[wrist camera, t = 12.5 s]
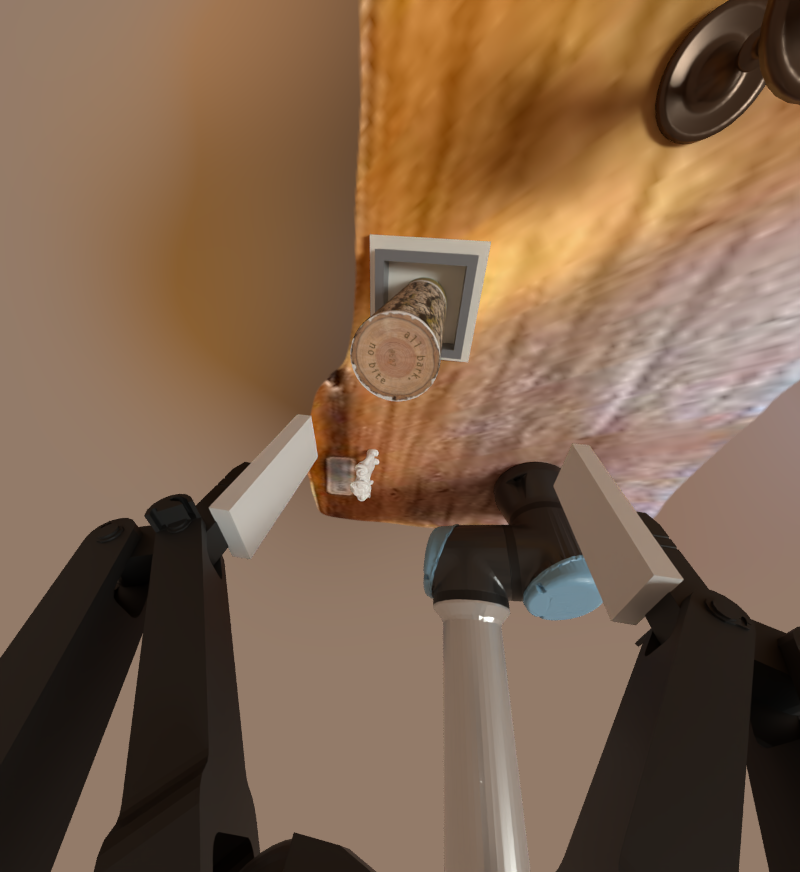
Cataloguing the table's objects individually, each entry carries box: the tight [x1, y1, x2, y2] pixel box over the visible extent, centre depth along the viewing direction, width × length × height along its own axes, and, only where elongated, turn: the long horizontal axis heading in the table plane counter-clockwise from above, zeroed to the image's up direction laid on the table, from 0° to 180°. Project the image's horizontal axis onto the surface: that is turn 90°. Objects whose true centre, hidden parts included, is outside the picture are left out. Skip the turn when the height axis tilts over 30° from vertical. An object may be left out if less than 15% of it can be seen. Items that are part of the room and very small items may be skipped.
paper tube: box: [350, 278, 447, 401], centre depth 31 cm, size 7×7×25 cm
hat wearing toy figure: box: [350, 449, 379, 501], centre depth 56 cm, size 9×4×12 cm, turn 177°
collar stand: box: [370, 235, 491, 362], centre depth 41 cm, size 16×16×4 cm
